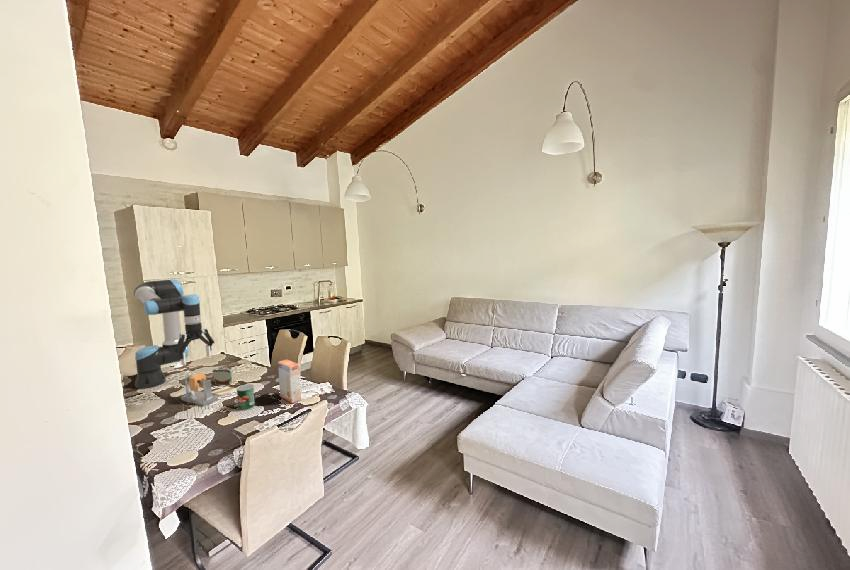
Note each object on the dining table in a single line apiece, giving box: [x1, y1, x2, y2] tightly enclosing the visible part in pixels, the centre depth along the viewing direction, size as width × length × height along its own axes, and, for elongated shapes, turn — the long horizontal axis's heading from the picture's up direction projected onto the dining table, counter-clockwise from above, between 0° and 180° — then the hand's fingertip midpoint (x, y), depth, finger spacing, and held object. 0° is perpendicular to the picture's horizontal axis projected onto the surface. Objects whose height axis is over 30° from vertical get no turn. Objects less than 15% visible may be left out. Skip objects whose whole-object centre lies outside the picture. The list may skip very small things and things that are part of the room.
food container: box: [211, 365, 234, 386], centre depth 216 cm, size 12×6×10 cm, turn 84°
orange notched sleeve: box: [189, 373, 207, 392], centre depth 192 cm, size 5×6×8 cm
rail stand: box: [180, 375, 219, 407], centre depth 192 cm, size 20×8×12 cm, turn 65°
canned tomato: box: [236, 384, 256, 411], centre depth 183 cm, size 8×8×11 cm
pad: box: [212, 385, 237, 397], centre depth 204 cm, size 10×10×1 cm
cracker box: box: [277, 359, 302, 404], centre depth 192 cm, size 14×6×21 cm, turn 48°
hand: (196, 360), depth 190 cm, fingers open, 13 cm apart
